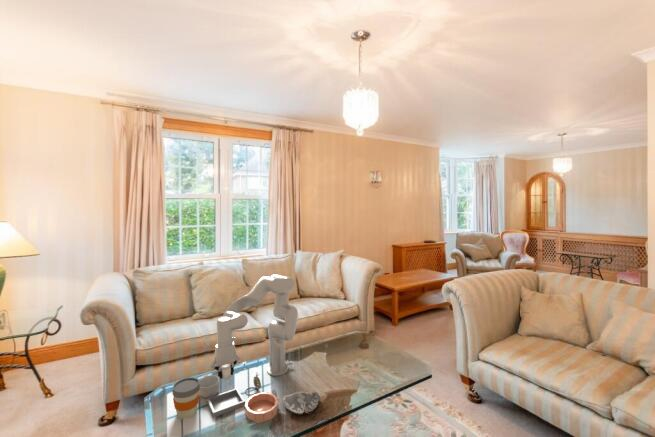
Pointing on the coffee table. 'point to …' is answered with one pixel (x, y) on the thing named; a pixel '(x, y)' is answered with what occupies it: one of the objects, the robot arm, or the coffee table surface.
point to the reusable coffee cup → (186, 397)
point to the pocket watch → (256, 381)
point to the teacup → (209, 386)
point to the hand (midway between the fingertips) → (226, 375)
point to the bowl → (261, 407)
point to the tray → (225, 402)
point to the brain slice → (301, 402)
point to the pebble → (226, 371)
